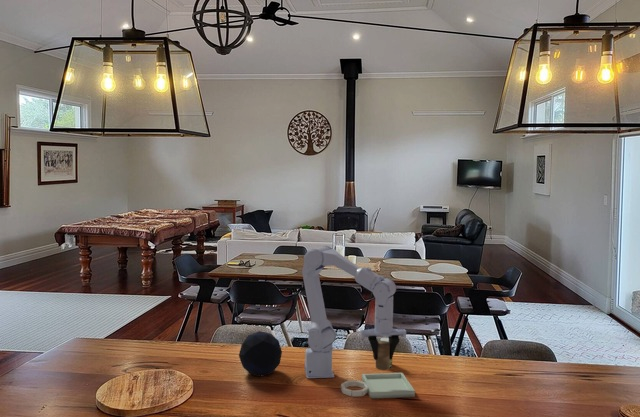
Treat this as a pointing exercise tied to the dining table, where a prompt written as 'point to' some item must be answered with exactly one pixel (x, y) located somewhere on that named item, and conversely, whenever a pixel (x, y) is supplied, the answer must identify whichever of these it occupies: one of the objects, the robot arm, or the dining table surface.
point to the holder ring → (354, 392)
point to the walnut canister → (383, 355)
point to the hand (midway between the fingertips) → (382, 358)
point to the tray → (388, 385)
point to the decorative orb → (260, 353)
